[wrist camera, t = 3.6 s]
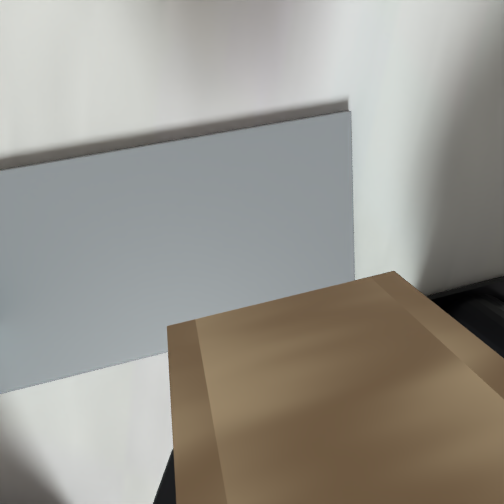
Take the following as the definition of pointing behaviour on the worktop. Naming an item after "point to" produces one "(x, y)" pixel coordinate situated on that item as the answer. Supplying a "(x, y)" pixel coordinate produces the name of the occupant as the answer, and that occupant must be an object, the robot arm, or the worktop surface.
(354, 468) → the wooden block
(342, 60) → the worktop surface
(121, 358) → the board
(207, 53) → the worktop surface
